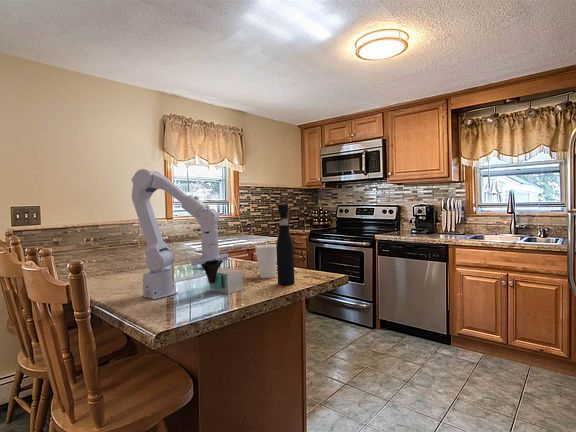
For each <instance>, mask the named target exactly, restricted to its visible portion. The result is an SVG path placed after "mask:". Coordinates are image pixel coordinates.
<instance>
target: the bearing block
mask: <svg viewBox="0 0 576 432" xmlns="http://www.w3.org/2000/svg"><path fill="white" fill-rule="evenodd" d="M217 275H221V276H222V289H221V290H217V289H212V288H210V287H209V291H211V292H217V293H221V294H225V295H229V294H232V293H236V292H240V291H242V290H244V284H243V283H244V282H243V270H239V269H232V268H225V267H224V268H218V271H217Z"/></svg>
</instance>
